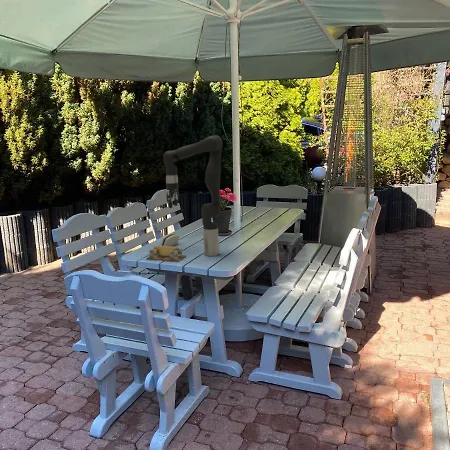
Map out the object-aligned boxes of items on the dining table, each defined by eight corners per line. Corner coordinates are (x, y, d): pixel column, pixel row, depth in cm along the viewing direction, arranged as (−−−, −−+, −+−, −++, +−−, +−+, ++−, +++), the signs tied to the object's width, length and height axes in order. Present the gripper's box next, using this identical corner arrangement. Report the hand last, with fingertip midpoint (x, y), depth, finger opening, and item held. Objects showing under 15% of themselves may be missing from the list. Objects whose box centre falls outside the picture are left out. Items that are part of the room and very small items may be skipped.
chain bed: (186, 256, 291) (185, 247, 289) (178, 262, 279) (178, 252, 278) (154, 254, 297) (154, 245, 296) (146, 259, 286) (145, 250, 285)
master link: (153, 254, 289) (153, 246, 288) (156, 253, 292) (155, 245, 290) (175, 255, 284) (175, 247, 283) (177, 254, 287) (177, 246, 286)
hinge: (172, 242, 327) (175, 230, 323) (177, 245, 325) (180, 233, 322) (157, 248, 313) (161, 235, 309) (163, 251, 311) (166, 238, 307)
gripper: (171, 180, 302) (172, 204, 306) (162, 183, 289) (163, 208, 292) (181, 180, 300) (182, 205, 303) (173, 183, 287) (174, 208, 290)
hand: (173, 206), depth 298 cm, fingers open, 8 cm apart
